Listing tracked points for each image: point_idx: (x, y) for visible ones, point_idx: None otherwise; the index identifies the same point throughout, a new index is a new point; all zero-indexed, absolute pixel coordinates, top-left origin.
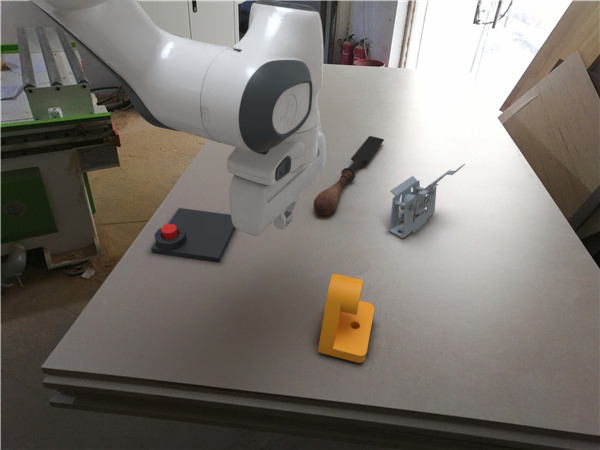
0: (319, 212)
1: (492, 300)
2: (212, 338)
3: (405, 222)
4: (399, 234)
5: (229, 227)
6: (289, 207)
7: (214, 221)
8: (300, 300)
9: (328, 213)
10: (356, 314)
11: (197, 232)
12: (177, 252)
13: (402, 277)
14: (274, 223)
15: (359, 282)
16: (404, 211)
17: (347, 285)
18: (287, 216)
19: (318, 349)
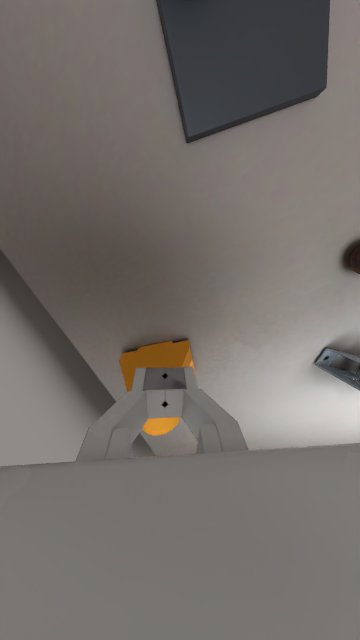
0: (353, 257)
1: (250, 431)
2: (63, 240)
3: (336, 376)
4: (321, 359)
5: (280, 92)
6: (192, 420)
7: (293, 26)
8: (176, 306)
9: (353, 269)
10: None
11: (241, 4)
12: (160, 5)
13: (253, 377)
14: (134, 375)
15: (163, 431)
16: (352, 385)
17: (150, 423)
18: (160, 415)
19: (121, 356)
